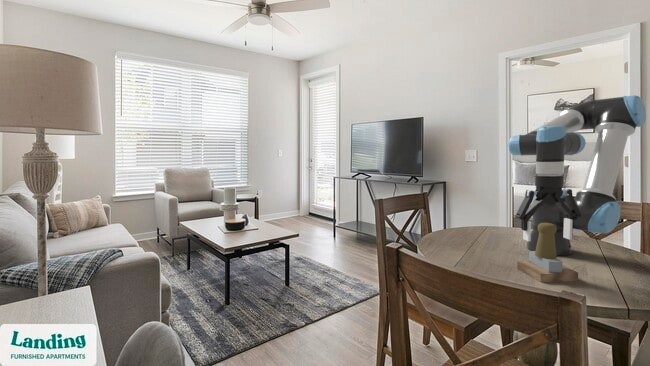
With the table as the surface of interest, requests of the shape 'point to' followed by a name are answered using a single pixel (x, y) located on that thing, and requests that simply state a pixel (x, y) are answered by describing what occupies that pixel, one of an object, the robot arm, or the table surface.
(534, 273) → the wooden flat board
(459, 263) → the table surface
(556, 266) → the slate-grey block
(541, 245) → the olive ball-ended rod
